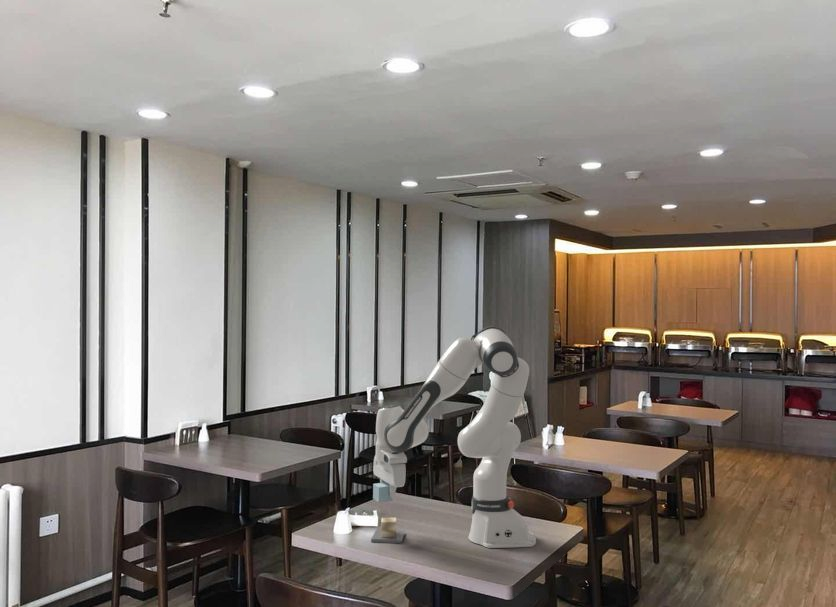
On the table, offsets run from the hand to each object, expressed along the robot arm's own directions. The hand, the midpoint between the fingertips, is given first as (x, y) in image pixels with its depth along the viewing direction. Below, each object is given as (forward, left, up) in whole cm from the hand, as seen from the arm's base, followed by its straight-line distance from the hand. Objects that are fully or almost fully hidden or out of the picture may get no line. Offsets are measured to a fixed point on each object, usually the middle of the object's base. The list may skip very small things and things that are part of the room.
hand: (388, 494), depth 228 cm
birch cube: (0, 0, -14) cm, 14 cm away
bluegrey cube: (+2, +1, -2) cm, 2 cm away
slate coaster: (0, 0, -15) cm, 15 cm away
